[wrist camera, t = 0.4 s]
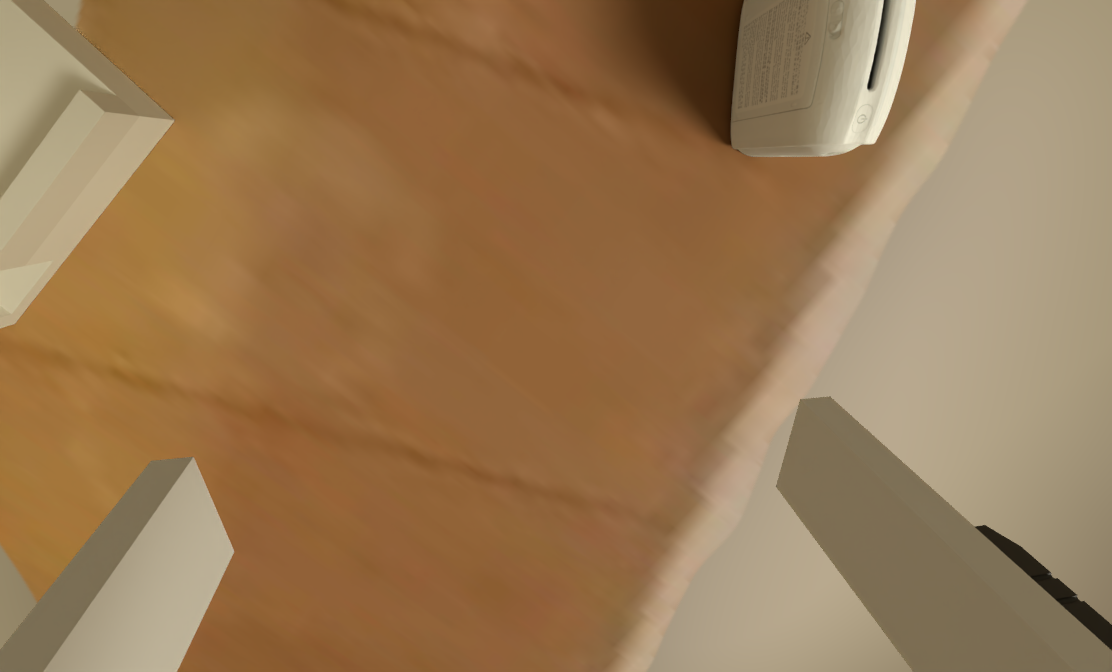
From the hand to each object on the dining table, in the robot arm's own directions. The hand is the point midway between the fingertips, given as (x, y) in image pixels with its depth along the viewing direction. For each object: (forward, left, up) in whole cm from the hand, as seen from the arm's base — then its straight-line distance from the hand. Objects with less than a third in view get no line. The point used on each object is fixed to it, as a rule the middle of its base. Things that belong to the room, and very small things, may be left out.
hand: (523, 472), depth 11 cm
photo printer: (-15, +12, -26) cm, 32 cm away
